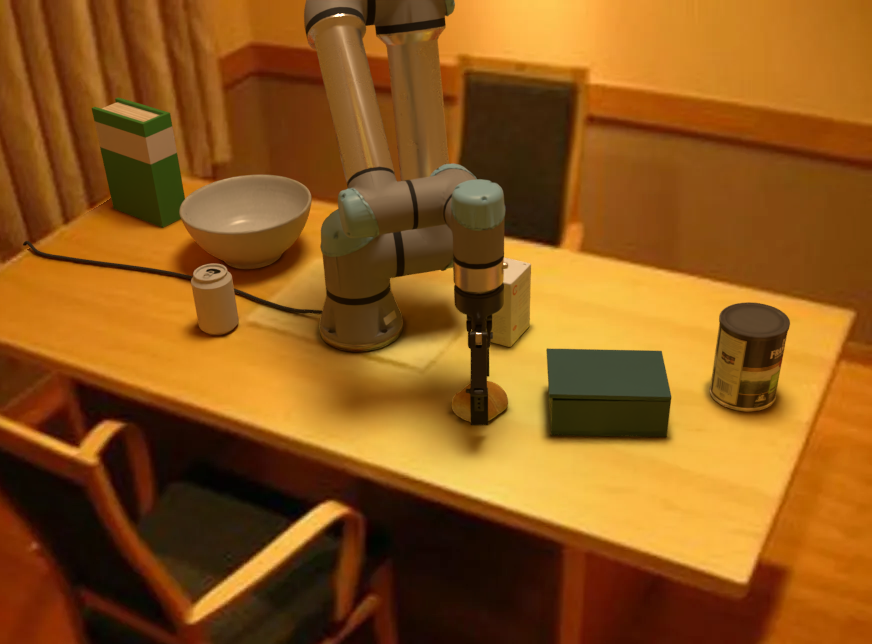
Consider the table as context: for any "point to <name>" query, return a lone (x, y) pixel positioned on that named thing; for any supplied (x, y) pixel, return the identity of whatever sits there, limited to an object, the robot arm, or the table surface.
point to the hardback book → (140, 161)
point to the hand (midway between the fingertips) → (480, 398)
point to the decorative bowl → (247, 218)
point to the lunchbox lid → (607, 374)
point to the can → (214, 299)
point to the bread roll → (495, 402)
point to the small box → (513, 304)
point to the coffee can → (748, 356)
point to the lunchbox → (608, 417)
